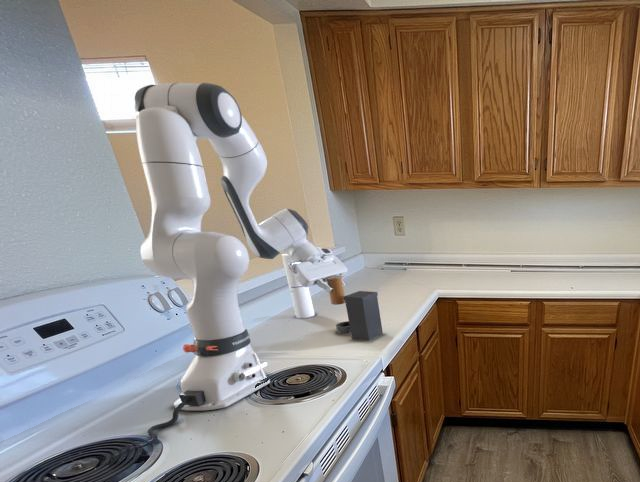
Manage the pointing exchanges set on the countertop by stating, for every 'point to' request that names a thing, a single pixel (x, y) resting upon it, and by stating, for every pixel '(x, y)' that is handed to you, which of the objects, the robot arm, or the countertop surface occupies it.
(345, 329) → the brew holder
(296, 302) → the cylindrical container
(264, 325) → the countertop surface
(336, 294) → the brown wooden cylinder
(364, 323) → the dark grey tall block
